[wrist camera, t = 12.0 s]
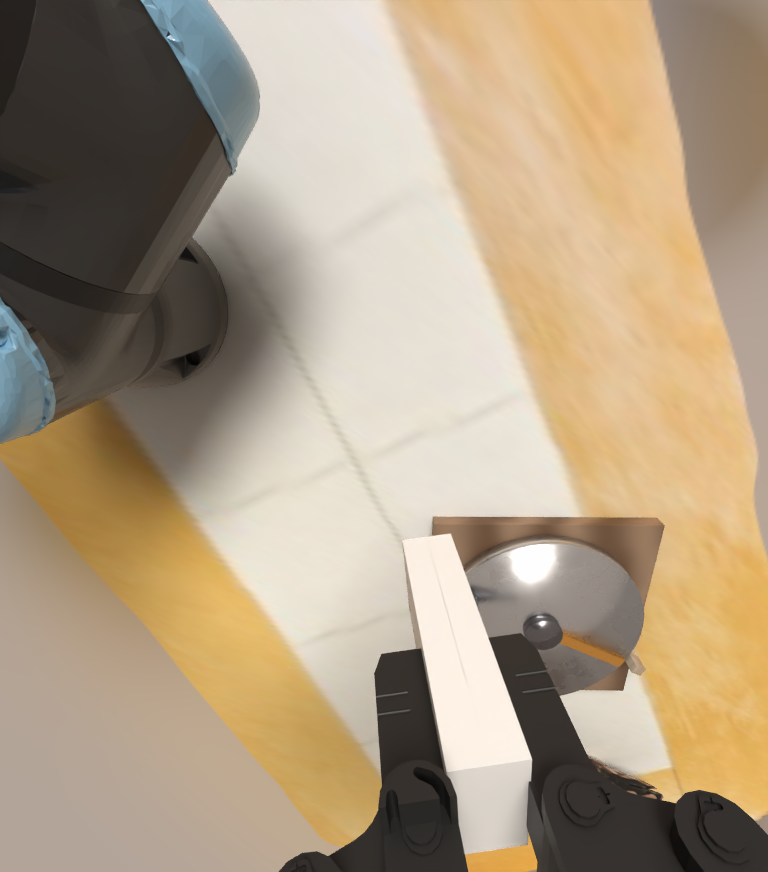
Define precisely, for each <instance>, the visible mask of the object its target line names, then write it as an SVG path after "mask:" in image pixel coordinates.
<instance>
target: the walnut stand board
mask: <svg viewBox="0 0 768 872" xmlns="http://www.w3.org/2000/svg"><path fill="white" fill-rule="evenodd" d="M663 530H664V525H663V524H662V523H661V522H660V520H659V519H658V518H570V517H433V536H436V535H443V534H451V536H452V539H453V541H454V544H455V547H456V550H457V552H458V555H459V558H460V561H461V563H462V566H463V567H464V566H465V565H466V564H467V563H468V562H469V561H471V560H472V559H473V558H475V557H476V556H477V555H479V554H481V553H482V552H484V551H486V550H487V549H489V548H491V547H494V546H496V545H498V544H500V543H503V542H506V541H509V540H512V539H517V538H521V537H526V536H535V535H559V536H568V537H572V538H576V539H581V540H583V541H586V542H589V543H592V544H594V545H596V546H598V547H600V548H601V549H603V550H605V551H606V552H608V553H609V554H610V555H612V556H613V557H614V558H615V559H616V560H617V561H618V562H619V563H620V564H621V565H622V566H623V568H624V569H625V570H626V572H627V573H628V574H629V576H630V577H631V579H632V580H633V581H634V583H635V584H636V586H637V588H638V590H639V592H640V595H641V598H642V602H643V608H644V605H645V601H646V597H647V593H648V590H649V586H650V582H651V578H652V574H653V570H654V566H655V562H656V558H657V554H658V550H659V546H660V542H661V538H662V534H663ZM628 669H630V671H631V672H632V673H635V674H637V675H641V674H642V673H643V672H644V671H645V670H646V669H645V668H644V666H643V664H642V663H641V661H640V659H639V658H638V656H637V654H636V653H635V651H634V649H633V650H632V652H631V654H630V655H629V656H628V657H627V658H626V660H625V661H624V662H623V664H622V665H621V666H620V667H618V668H617V669H616V670H614V671H613V672H612V673H610V674H609V675H608V676H606V677H605V678H603V679H602V680H600V681H598V682H597V683H595V684H592V685H590V686H588V687H586V688H584V689H581V690H620V691H623V689H624V685H625V681H626V677H627V673H628Z"/></svg>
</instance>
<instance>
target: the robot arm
mask: <svg viewBox="0 0 768 872" xmlns="http://www.w3.org/2000/svg"><path fill="white" fill-rule="evenodd" d="M259 99H260V93H259V87H258V83H257V80H256V77H255V75H254V72H253V70H252V68H251V66H250V64H249V62H248V60H247V58H246V56H245V55H244V53H243V51H242V50H241V48H240V46H239V45H238V43H237V42H236V40H235V39H234V37H233V36H232V34H231V33H230V31H229V30H228V28H227V27H226V25H225V24H224V22H223V21H222V20H221V18H220V17H219V15H218V14H217V13H216V11H215V10H214V8H213V7H212V6H211V4H210V3H209V2H208V0H0V444H1V443H4V442H7V441H10V440H13V439H16V438H19V437H22V436H27V435H31V434H33V433H36V432H38V431H40V430H41V429H44V428H45V427H46V425H47V424H49V423H51V422H54V421H56V420H58V419H60V418H62V417H64V416H66V415H68V414H70V413H72V412H74V411H76V410H78V409H80V408H82V407H84V406H86V405H88V404H90V403H92V402H94V401H96V400H98V399H100V398H103V397H105V396H107V395H109V394H111V393H113V392H115V391H117V390H119V389H121V388H123V387H125V386H131V387H151V388H152V387H163V386H168V385H172V384H176V383H178V382H181V381H183V380H185V379H187V378H189V377H191V376H192V375H194V374H196V373H197V372H199V371H200V370H202V369H203V368H204V367H206V366H207V365H208V364H209V363H210V362H211V361H212V359H213V358H214V357H215V355H216V354H217V352H218V351H219V349H220V347H221V345H222V342H223V340H224V337H225V333H226V328H227V321H228V307H227V299H226V294H225V290H224V287H223V284H222V281H221V278H220V276H219V274H218V272H217V270H216V268H215V266H214V264H213V263H212V261H211V259H210V258H209V256H208V255H207V254H206V252H205V251H204V250H203V249H202V248H201V246H200V245H199V244H198V243H197V242H196V241H195V240H194V239H193V238H192V236H193V234H194V233H195V231H196V229H197V228H198V226H199V224H200V223H201V221H202V219H203V218H204V216H205V214H206V213H207V211H208V209H209V208H210V206H211V204H212V203H213V201H214V199H215V198H216V196H217V194H218V193H219V191H220V189H221V188H222V186H223V184H224V183H225V181H226V180H227V178H228V176H232V175H233V174H234V173H235V171H236V170H235V168H236V167H237V158H238V156H239V154H240V152H241V151H242V149H243V147H244V145H245V143H246V141H247V139H248V137H249V135H250V134H251V132H252V130H253V128H254V126H255V124H256V122H257V120H258V115H259V110H260V104H259ZM402 542H403V552H404V561H405V571H406V580H407V590H408V600H409V608H410V614H411V620H412V626H413V631H414V637H415V643H416V648H417V649H413V650H406V651H399V652H392V653H385V654H381V657H380V659H379V662H378V665H377V668H376V671H375V673H374V675H375V689H376V704H377V716H378V733H379V748H380V762H381V777H382V788H381V790H380V797H379V807H378V809H379V810H378V812H377V814H376V816H375V818H374V820H373V822H372V824H371V825H370V826H369V827H368V829H367V830H366V831H365V832H364V833H363V834H362V835H361V836H359V837H358V838H357V839H356V840H354V841H353V842H351V843H349V844H348V845H346V846H344V847H343V848H341V849H339V850H338V851H336V852H335V853H333V854H331V855H330V856H326V855H324V854H321V853H319V852H309V853H301V854H300V855H298V856H296V857H294V858H293V859H291V860H290V861H288V862H287V863H286V864H285V865H284V866H283V867H282V869H281V870H280V871H279V872H468V868H467V863H466V858H465V854H471V853H478V852H484V851H490V850H497V849H503V848H510V847H516V846H522V845H528V832H529V835H530V839H531V842H532V845H533V848H534V851H535V855H536V858H537V861H538V863H537V872H768V835H767V834H766V833H765V831H764V830H763V829H762V828H761V827H760V826H759V825H758V824H757V823H756V822H755V821H754V820H753V819H752V818H751V817H750V816H749V815H748V814H747V813H745V812H744V811H743V810H742V809H741V808H740V807H739V806H737V805H736V804H735V803H733V802H731V801H729V800H728V799H726V798H724V797H722V796H720V795H718V794H716V793H711V792H706V791H702V790H697V791H693V792H688V793H685V794H684V795H683V796H682V797H681V798H680V799H679V800H678V801H677V803H672V802H667V801H662V800H658V799H653V798H649V797H644V796H639V795H636V794H633V793H630V792H627V791H625V790H623V789H621V788H619V787H618V786H616V785H614V784H612V783H611V782H610V781H609V780H608V779H606V778H605V777H604V776H603V775H602V774H601V773H600V772H599V771H598V770H597V769H596V768H595V766H594V765H593V764H592V762H591V761H590V759H589V757H588V755H587V754H586V752H585V750H584V747H583V745H582V743H581V741H580V739H579V737H578V735H577V733H576V730H575V728H574V726H573V724H572V722H571V720H570V718H569V716H568V713H567V711H566V709H565V707H564V705H563V703H562V701H561V699H560V696H559V694H558V692H557V690H555V686H554V684H553V682H552V679H551V677H550V675H549V673H547V669H546V667H545V665H544V662H543V660H542V658H541V656H540V654H539V652H538V650H537V648H536V647H535V646H534V645H533V644H532V643H531V642H530V641H529V640H528V639H527V638H526V637H525V636H524V635H522V634H521V633H518V634H510V635H503V636H496V637H489V638H488V636H487V633H486V630H485V627H484V624H483V622H482V619H481V616H480V613H479V611H478V608H477V605H476V602H475V600H474V597H473V594H472V591H471V588H470V586H469V583H468V580H467V577H466V575H465V572H464V569H463V566H462V563H461V561H460V558H459V555H458V552H457V550H456V547H455V544H454V541H453V539H452V536H451V534H443V535H436V536H428V537H421V538H413V539H406V540H402Z"/></svg>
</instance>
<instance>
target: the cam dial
mask: <svg viewBox="0 0 768 872" xmlns="http://www.w3.org/2000/svg"><path fill="white" fill-rule="evenodd" d="M463 569H464V572H465V575H466V577H467V580H468V583H469V586H470V588H471V591H472V594H473V597H474V600H475V602H476V605H477V608H478V611H479V613H480V616H481V619H482V622H483V624H484V627H485V630H486V633H487V636H488V638H489V637H496V636H503V635H510V634H518V633H521V634H522V635H524V636H525V637H526V638H527V639H528V640H529V641H530V642H531V643H532V644H533V645H534V646H535V647H536V648H537V650H538V652H539V654H540V656H541V658H542V660H543V662H544V665H545V667H546V669H547V673H549V675H550V677H551V679H552V682H553V684H554V686H555V690H557V692H558V694H559V696H560V695H565V694H569V693H572V692H575V691H578V690H581V689H584V688H586V687H588V686H590V685H592V684H595V683H597V682H598V681H600V680H602V679H603V678H605V677H606V676H608V675H609V674H610V673H612V672H613V671H614V670H616V669H617V668H618V667H620V666H621V665H622V664H623V662H624V661H625V660H626V658H627V657H628V656H629V655H630V654H631V652H632V650H633V649H634V647H635V646H636V644H637V642H638V639H639V637H640V635H641V631H642V627H643V621H644V608H643V602H642V598H641V595H640V592H639V590H638V588H637V586H636V584H635V583H634V581H633V580H632V579H631V577H630V576H629V574H628V573H627V572H626V570H625V569H624V568H623V566H622V565H621V564H620V563H619V562H618V561H617V560H616V559H615V558H614V557H613V556H612V555H610V554H609V553H608V552H606V551H605V550H603V549H601V548H600V547H598V546H596V545H594V544H592V543H589V542H586V541H583V540H581V539H576V538H572V537H568V536H559V535H535V536H526V537H521V538H517V539H512V540H509V541H506V542H503V543H500V544H498V545H496V546H494V547H491V548H489V549H487V550H486V551H484V552H482V553H481V554H479V555H477V556H476V557H475V558H473V559H472V560H471V561H469V562H468V563H467V564H466V565H465V566H464V567H463Z"/></svg>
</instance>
